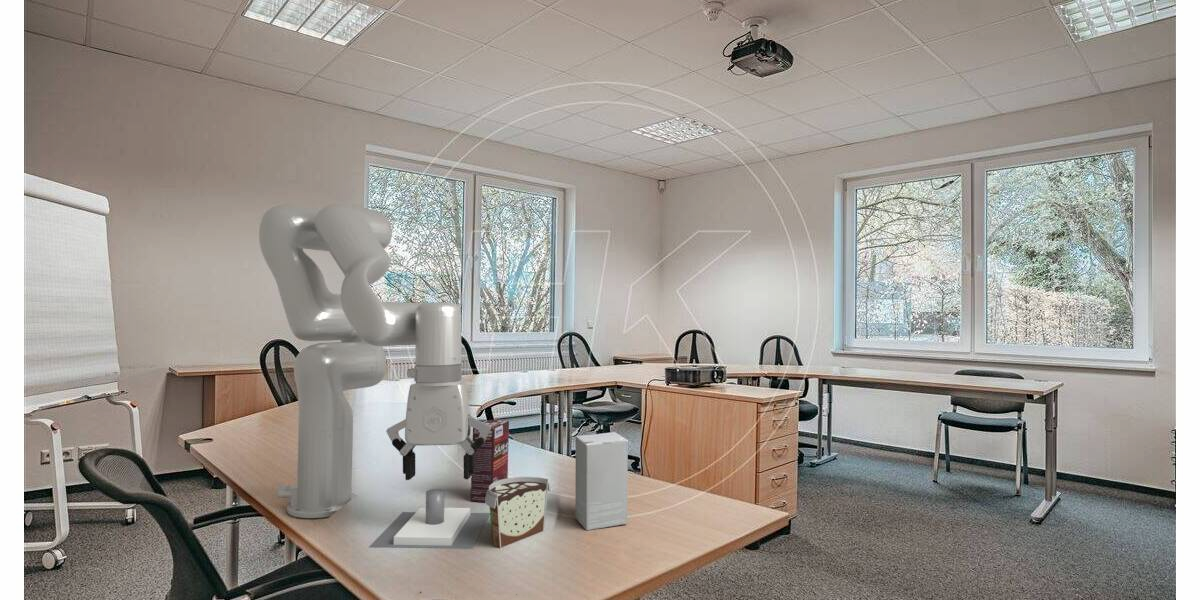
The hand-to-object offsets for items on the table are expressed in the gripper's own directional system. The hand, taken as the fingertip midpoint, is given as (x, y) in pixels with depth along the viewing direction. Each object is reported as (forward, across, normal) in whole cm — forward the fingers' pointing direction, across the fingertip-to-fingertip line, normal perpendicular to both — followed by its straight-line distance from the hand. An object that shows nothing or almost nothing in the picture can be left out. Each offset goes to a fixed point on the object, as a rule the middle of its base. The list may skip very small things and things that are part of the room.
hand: (439, 477), depth 99 cm
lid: (+9, -1, 0) cm, 9 cm away
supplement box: (+10, +5, +19) cm, 22 cm away
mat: (+10, -1, +1) cm, 10 cm away
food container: (+11, +12, -1) cm, 16 cm away
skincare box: (+11, +27, +9) cm, 30 cm away
